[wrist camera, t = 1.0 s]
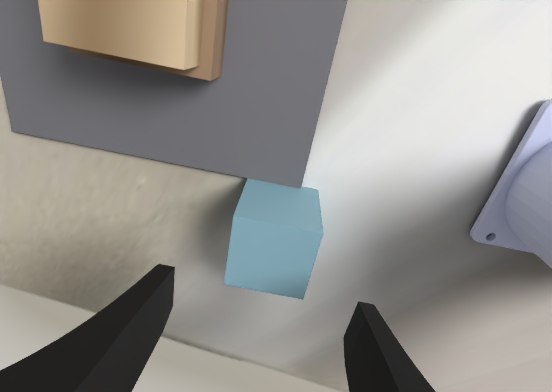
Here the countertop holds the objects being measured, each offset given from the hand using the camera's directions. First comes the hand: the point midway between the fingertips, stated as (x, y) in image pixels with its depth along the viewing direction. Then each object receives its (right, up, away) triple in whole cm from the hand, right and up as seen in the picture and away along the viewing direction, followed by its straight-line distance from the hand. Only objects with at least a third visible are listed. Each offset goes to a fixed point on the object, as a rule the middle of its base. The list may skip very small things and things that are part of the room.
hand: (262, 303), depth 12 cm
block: (+1, +3, +6) cm, 7 cm away
